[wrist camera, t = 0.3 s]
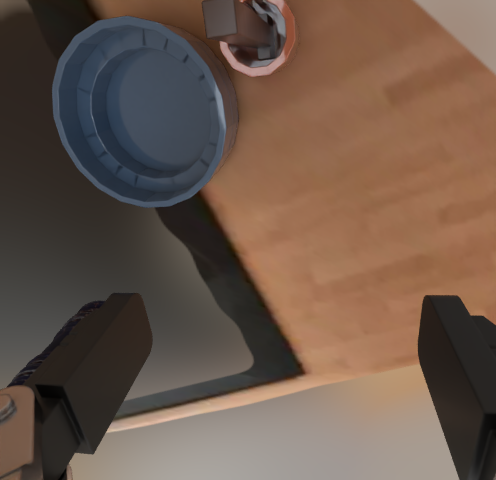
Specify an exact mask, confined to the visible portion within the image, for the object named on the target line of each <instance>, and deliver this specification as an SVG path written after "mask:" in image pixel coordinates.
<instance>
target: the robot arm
mask: <svg viewBox="0 0 496 480" xmlns="http://www.w3.org/2000/svg"><path fill="white" fill-rule="evenodd" d="M151 348H152V332H151V328H150V324H149V321H148V317H147V313H146V310H145V306H144V302H143V299H142V297H141V295H140V294H138V293H113V294H111V295H110V296H109V298H108V299H107V300H106V301H105V302H104V303H103V305H102V306H101V307H100V308H99V309H96V310H94V311H93V312H91V313H90V314H89V315H87V316H86V317H84V318H83V319H81V320H80V321H79V322H78V323H77V324H76V326H75V327H74V328H73V329H72V330H71V331H70V332H69V335H67V336H66V337H65V338H64V339H63V340H62V341H61V342H60V346H57V347H56V348H55V349H54V350H53V351H52V352H51V353H50V355H49V356H48V357H47V358H46V359H45V360H44V361H43V362H42V364H41V365H40V366H39V367H38V368H37V369H36V370H35V371H34V373H33V374H32V375H31V376H30V377H29V378H28V379H27V380H26V381H25V383H24V384H23V385H15V386H10V387H7V388H4V389H1V390H0V480H73V478H72V469H71V467H70V465H69V462H70V460H71V459H72V457H73V455H74V453H84V454H94V453H95V451H96V449H97V447H98V445H99V444H100V442H101V440H102V438H103V436H104V435H105V433H106V431H107V429H108V428H109V426H110V424H111V422H112V420H113V419H114V417H115V415H116V413H117V411H118V410H119V408H120V406H121V404H122V402H123V401H124V399H125V397H126V395H127V393H128V392H129V390H130V388H131V386H132V384H133V383H134V381H135V379H136V377H137V376H138V374H139V372H140V370H141V368H142V367H143V365H144V363H145V361H146V359H147V357H148V356H149V354H150V351H151ZM418 356H419V361H420V365H421V368H422V371H423V374H424V377H425V380H426V383H427V385H428V389H429V392H430V395H431V397H432V401H433V403H434V406H435V409H436V412H437V415H438V418H439V421H440V424H441V427H442V430H443V432H444V436H445V439H446V442H447V444H448V447H449V450H450V453H451V456H452V459H453V462H454V465H455V468H456V471H457V474H458V477H459V479H460V480H496V325H494V324H493V323H492V322H490V321H489V320H488V319H486V318H485V317H484V316H470V314H469V312H468V311H467V309H466V307H465V306H464V304H463V302H462V301H461V299H460V298H459V297H458V296H454V295H426V296H425V297H424V299H423V304H422V312H421V320H420V329H419V337H418Z"/></svg>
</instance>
